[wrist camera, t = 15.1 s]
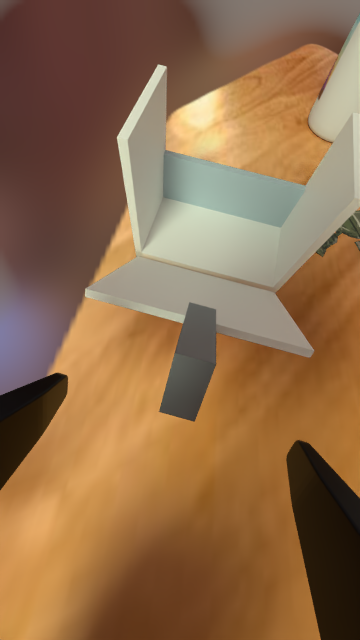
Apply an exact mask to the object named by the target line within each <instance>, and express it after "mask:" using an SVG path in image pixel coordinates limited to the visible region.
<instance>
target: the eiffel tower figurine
mask: <svg viewBox="0 0 360 640" xmlns="http://www.w3.org/2000/svg"><path fill="white" fill-rule="evenodd" d="M342 233H343V234H346V235H348V236H350V237H353V238H358V239H360V210H359V211H355V212H354V213H353V214H352V215H351V216H350V217H349V218H348V219H347V220H346V221H345V222H344V223H343V224H342V225H341V226H340V227H339V228H338V229H337V230H336V234H335V233H334V234H333V235H332V236H331V237H330V238H329V239H328V240H327V241H326V242H325V243H324V244H323V245H322V246H321V247H320V248H319V249H318V250H317V251H316V253H318V254H319V255H321V256H322V257H323V256H324V254H325V252H326V249H327V248H328V247H330V245H333V244H335V243H337V238H338V236H339V235H340V234H342ZM355 244H356V245H357V247H358V249H359V251H360V241H358V242H355Z"/></svg>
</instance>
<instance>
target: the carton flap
mask: <svg viewBox="0 0 360 640" xmlns="http://www.w3.org/2000/svg"><path fill="white" fill-rule="evenodd" d="M85 297H88V298H92V299H95V300H99V301H103V302H106V303H110V304H114V305H117V306H121V307H125V308H128V309H132V310H136V311H139V312H143V313H147V314H150V315H154V316H158V317H161V318H165V319H169V320H173V321H176V322H180V323H183V326H182V330H181V333H180V337H179V340H178V344H177V347H176V351H175V354H174V358H173V362H172V366H171V369H170V373H169V377H168V381H167V384H166V388H165V392H164V396H163V399H162V403H161V407H160V411H159V412H162V413H166V414H169V415H173V416H176V417H180V418H183V419H187V420H190V421H194V422H195V419H196V417H197V414H198V411H199V408H200V406H201V403H202V400H203V398H204V395H205V392H206V390H207V387H208V384H209V382H210V379H211V376H212V374H213V371H214V368H215V366H216V332H217V333H220V334H224V335H228V336H231V337H235V338H239V339H242V340H246V341H250V342H253V343H257V344H261V345H265V346H268V347H272V348H276V349H279V350H283V351H287V352H290V353H294V354H298V355H301V356H305V357H309V358H310V357H311V356H312V354H313V352H314V349H313V348H312V347H311V345H310V344H309V342H308V341H307V339H306V338H305V336H304V335H303V333H302V332H301V331H300V329H299V328H298V326H297V325H296V323H295V322H294V320H293V319H292V317H291V316H290V315H289V313H288V312H287V310H286V309H285V307H284V306H283V304H282V303H281V301H280V300H279V299H278V297H277V296H276V294H275V293H274V292H271V291H267V290H263V289H259V288H256V287H252V286H248V285H244V284H241V283H237V282H233V281H229V280H226V279H222V278H218V277H214V276H211V275H207V274H203V273H199V272H195V271H192V270H188V269H184V268H180V267H177V266H173V265H169V264H165V263H162V262H158V261H154V260H150V259H147V258H143V257H139V256H138V257H136V258H134V259H133V260H131V261H130V262H128V263H126V264H125V265H123V266H121V267H120V268H118V269H117V270H115V271H113V272H112V273H110V274H109V275H107V276H105V277H104V278H102V279H100V280H99V281H97V282H96V283H94V284H92V285H91V286H89V287H88V288H86V290H85Z"/></svg>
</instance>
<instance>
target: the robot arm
mask: <svg viewBox="0 0 360 640" xmlns="http://www.w3.org/2000/svg"><path fill="white" fill-rule="evenodd" d="M67 389H68V376H67V375H64V374H61V373H55V374H52V375H50V376H47V377H45V378H42V379H40V380H37V381H35V382H32V383H30V384H27V385H25V386H23V387H20V388H17V389H15V390H13V391H10V392H8V393H5V394H3V395H0V490H1V489H2V487H3V486H4V485H5V483H6V482H7V481H8V480H9V478H10V477H11V476H12V474H13V473H14V472H15V470H16V469H17V468H18V466H19V465H20V464H21V462H22V461H23V460H24V458H25V457H26V456H27V455H28V453H29V452H30V451H31V449H32V448H33V447H34V445H35V444H36V443H37V441H38V440H39V439H40V437H41V436H42V434H43V433H44V431H45V430H46V428H47V427H48V425H49V423H50V422H51V420H52V419H53V417H54V415H55V414H56V412H57V410H58V409H59V407H60V406H61V404H62V402H63V401H64V399H65V397H66V395H67ZM287 469H288V477H289V485H290V494H291V501H292V507H293V512H294V517H295V522H296V526H297V531H298V536H299V540H300V545H301V549H302V554H303V559H304V563H305V568H306V573H307V577H308V582H309V586H310V591H311V596H312V600H313V605H314V610H315V614H316V619H317V623H318V628H319V633H320V637H321V640H360V498H359V497H358V496H357V495H356V494H355V493H354V492H353V491H352V489H351V488H350V487H349V486H348V485H347V484H346V483H345V482H344V481H343V480H342V479H341V478H340V476H339V475H338V474H337V473H336V472H335V471H334V470H333V469H332V468H331V467H330V466H329V464H328V463H327V462H326V461H325V460H324V459H323V458H322V457H321V456H320V455H319V454H318V453H317V451H316V450H315V449H314V448H313V447H312V446H311V445H310V444H309V443H307V442H304V441H300V440H297V441H295V443H294V444H293V446H292V447H291V449H290V451H289V452H288V454H287Z"/></svg>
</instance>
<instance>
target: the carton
mask: <svg viewBox="0 0 360 640" xmlns="http://www.w3.org/2000/svg"><path fill="white" fill-rule="evenodd" d="M166 85H167V67H166V66H162V65H158V66H157V68H156V70H155V72H154V73H153V75H152V77H151V79H150V80H149V82H148V84H147V85H146V87H145V89H144V91H143V92H142V94H141V96H140V98H139V100H138V101H137V103H136V105H135V107H134V108H133V110H132V112H131V114H130V115H129V117H128V119H127V121H126V122H125V124H124V126H123V128H122V130H121V131H120V133H119V135H118V137H117V140H118V146H119V152H120V158H121V164H122V171H123V176H124V183H125V189H126V195H127V202H128V208H129V214H130V220H131V226H132V233H133V239H134V245H135V251H136V257H138V256H139V257H143V258H147V259H150V260H154V261H158V262H162V263H165V264H169V265H173V266H177V267H180V268H184V269H188V270H192V271H195V272H199V273H203V274H207V275H211V276H214V277H218V278H222V279H226V280H229V281H233V282H237V283H241V284H244V285H248V286H252V287H256V288H259V289H263V290H267V291H271V292H274V293H276V292H277V291H278V290H279V289H280V288H281V287H282V286H283V285H284V284H285V283H286V282H287V281H288V280H289V279H290V278H291V277H292V276H293V275H294V273H295V272H296V271H297V270H298V269H299V268H300V267H301V266H302V265H303V264H304V263H305V262H306V261H307V260H308V259H309V258H310V257H311V256H312V255H313V254H314V253H315V252H316V251H317V250H318V249H319V248H320V247H321V246H322V245H323V244H324V243H325V242H326V241H327V240H328V239H329V238H330V237H331V236H332V235H333V234H334V232H335V231H336V230H337V229H338V228H339V227H340V226H341V225H342V224H343V223H344V222H345V221H346V220H347V219H348V218H349V217H350V216H351V215H352V214H353V213H354V212H355V211H356V210H357V209H358V208H359V207H360V114H358V113H354V112H353V113H352V114H351V116H350V117H349V119H348V120H347V122H346V124H345V125H344V127H343V128H342V130H341V131H340V133H339V134H338V136H337V138H336V139H335V141H334V142H333V144H332V145H331V147H330V148H329V150H328V152H327V153H326V155H325V156H324V158H323V159H322V161H321V162H320V164H319V166H318V167H317V169H316V170H315V172H314V173H313V175H312V176H311V178H310V180H309V181H308V183H307V184H306V186H304V185H301V184H297V183H293V182H289V181H285V180H281V179H277V178H273V177H269V176H265V175H261V174H257V173H253V172H249V171H246V170H242V169H238V168H234V167H230V166H226V165H222V164H218V163H214V162H210V161H206V160H202V159H198V158H194V157H190V156H187V155H183V154H179V153H175V152H171V151H167V150H166V89H167V87H166Z"/></svg>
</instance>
